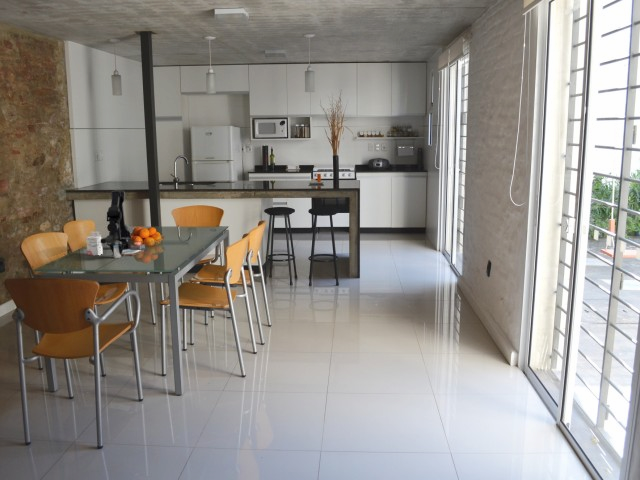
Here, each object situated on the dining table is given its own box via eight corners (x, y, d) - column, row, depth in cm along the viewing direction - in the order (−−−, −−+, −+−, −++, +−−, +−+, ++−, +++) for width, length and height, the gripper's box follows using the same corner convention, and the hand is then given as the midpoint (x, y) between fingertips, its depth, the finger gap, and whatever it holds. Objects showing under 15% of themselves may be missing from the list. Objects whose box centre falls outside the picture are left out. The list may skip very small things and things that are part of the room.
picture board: (112, 255, 382) (112, 253, 382) (124, 250, 396) (124, 249, 395) (132, 256, 379) (132, 254, 379) (144, 251, 392) (144, 249, 392)
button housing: (131, 250, 396) (130, 246, 395) (136, 248, 402) (136, 244, 401) (139, 250, 394) (139, 246, 394) (145, 249, 400) (144, 244, 400)
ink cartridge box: (87, 255, 385) (84, 232, 382) (92, 253, 390) (90, 231, 387) (98, 255, 382) (96, 232, 379) (103, 254, 387) (101, 231, 384)
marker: (112, 258, 374) (111, 245, 372) (116, 256, 378) (115, 244, 376) (118, 258, 373) (117, 245, 371) (122, 257, 377) (121, 244, 375)
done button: (133, 247, 396) (132, 242, 396) (136, 245, 400) (136, 241, 400) (139, 247, 395) (138, 243, 395) (142, 246, 399) (142, 241, 399)
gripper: (94, 231, 367) (96, 256, 370) (121, 232, 362) (123, 257, 365) (104, 228, 377) (107, 252, 380) (131, 229, 373) (133, 253, 376)
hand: (117, 254), depth 375 cm, fingers closed on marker, 4 cm apart
